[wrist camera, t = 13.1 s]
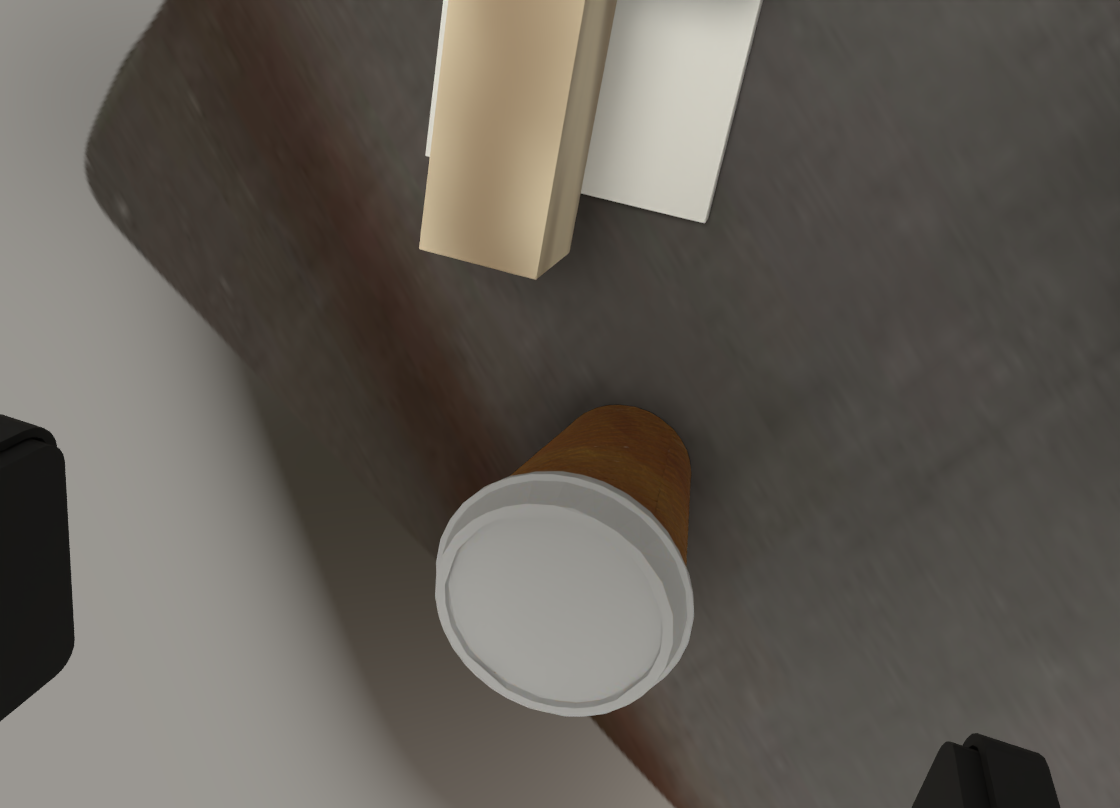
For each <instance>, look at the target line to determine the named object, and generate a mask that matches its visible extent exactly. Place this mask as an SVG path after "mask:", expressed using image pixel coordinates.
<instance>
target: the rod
mask: <svg viewBox="0 0 1120 808" xmlns="http://www.w3.org/2000/svg"><path fill="white" fill-rule="evenodd" d="M616 4H617V0H448V8H447V16H446V25H445V33H444V41H443V50H442V58H441V67H440V75H439V84H438V92H437V101H436V109H435V118H434V126H433V135H432V143H431V152H430V160H429V169H428V177H427V186H426V194H425V202H424V211H423V219H422V228H421V236H420V245H419V249H421V250H425V251H429V252H432V253H436V254H440V255H444V256H448V257H451V258H455V259H459V260H463V261H467V262H470V263H474V264H478V265H482V266H486V267H490V268H493V269H497V270H501V271H505V272H509V273H512V274H516V275H520V276H524V277H528V278H531V279H535V280H536V279H537V278H539V277H540V276H541V275H542V274H544V273H545V272H546V271H547V270H549V269H550V268H551V267H552V266H553V265H555V264H556V263H557V262H558V261H560V260H561V259H562V258H563V257H565V256H566V255H567V254H568V253H569V252H570V247H571V241H572V236H573V231H574V226H575V220H576V215H577V210H578V204H579V199H580V194H581V189H582V183H583V178H584V173H585V167H586V162H587V157H588V152H589V146H590V141H591V136H592V130H593V125H594V120H595V115H596V109H597V104H598V99H599V94H600V88H601V83H602V78H603V72H604V67H605V62H606V57H607V51H608V46H609V41H610V35H611V30H612V25H613V20H614V14H615V9H616Z"/></svg>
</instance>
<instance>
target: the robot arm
mask: <svg viewBox="0 0 1120 808" xmlns="http://www.w3.org/2000/svg"><path fill="white" fill-rule="evenodd" d="M72 603H73V602H72V585H71V566H70V548H69V530H68V512H67V493H66V477H65V460H64V456H63V453H62V452H61V450H60V449H59V448H57V445H56V440H55V438H54V437H53V435H52V434H51V433H50V432H49V431H48V430H46V429H44V428H42V427H38V426H36V425H33V424H29V423H26V422H23V421H20V420H17V419H14V418H11V417H8V416H5V415H0V721H1V720H2V719H4V718H5V717H6V716H7V715H9V714H10V713H11V712H12V711H13V710H15V709H16V708H17V707H18V706H20V705H21V704H22V703H23V702H24V701H26V700H27V699H28V698H29V697H31V696H32V695H33V694H34V693H35V692H37V691H38V690H39V689H40V688H41V687H43V686H44V685H45V684H46V683H47V682H49V681H50V680H51V679H52V678H54V677H55V676H56V675H57V674H58V673H59V672H60V671H61V670H62V669H63V668H64V666H65V665H66V663H67V662H68V660H69V658H70V656H71V654H72V650H73V648H74V621H73V604H72ZM912 808H1060V805H1059V801H1058V798H1057V794H1056V791H1055V788H1054V784H1053V781H1052V777H1051V774H1050V770H1049V767H1048V765H1047V762H1046V760H1045V758H1044V757H1043V756H1041V755H1040V754H1039V753H1036V752H1033V751H1030V750H1027V749H1024V748H1021V747H1018V746H1014V745H1011V744H1008V743H1005V742H1002V741H999V740H996V739H993V738H990V737H987V736H984V735H981V734H978V733H976V734H971V735H970V736H969V737H968V738H967V739H966V741H965V742H964V744H963V746H962V745H959V744H956V743H953V742H945V743H944V744H943V745H942V746H941V748H940V750H939V752H938V753H937V756H936V758H935V760H934V762H933V764H932V766H931V768H930V770H929V772H928V774H927V776H926V779H925V781H924V783H923V785H922V787H921V789H920V791H919V793H918V795H917V797H916V800H915V802H914V804H913V806H912Z"/></svg>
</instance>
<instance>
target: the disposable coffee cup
mask: <svg viewBox="0 0 1120 808" xmlns="http://www.w3.org/2000/svg"><path fill="white" fill-rule="evenodd" d="M690 481H691V467H690V460H689V456H688V453H687V450H686V448H685V446H684V444H683V443H682V441H681V439H680V437H679V436H678V435H677V433H676V432H675V431H674V429H672V428H671V427H670V426H669V425H668V424H666V423H665V422H664V421H663V420H662V419H660V418H659V417H657V416H656V415H654V414H652V413H650V412H648V411H645V410H643V409H640V408H637V407H632V406H624V405H607V406H603V407H599V408H595V409H593V410H591V411H588V412H586V413H584V414H583V415H581V416H580V417H579V418H577V419H576V420H575V421H574V422H573V423H572V424H571V425H569V426H568V427H567V428H566V429H565V430H564V431H562V432H561V433H560V434H559V435H558V436H557V437H555V438H554V439H553V440H552V441H551V442H549V443H548V444H547V445H546V446H545V447H543V448H542V449H541V450H540V451H539V452H538V453H536V454H535V455H534V456H533V457H532V458H531V459H530V460H528V461H527V462H526V463H525V464H524V465H522V466H521V467H520V468H519V469H518V470H517V471H515V472H514V473H513V474H512V475H511V476H509V477H507V478H504V479H502V480H500V481H497V482H495V483H492V484H490V485H487V486H485V487H484V488H482V489H481V490H480V491H479V492H477V493H476V494H475V495H473V496H472V497H471V498H469V499H468V500H467V501H465V502H464V503H463V504H462V505H461V507H460V508H459V509H458V510H457V512H456V513H455V514H454V515H453V517H452V518H451V519H450V521H449V523H448V525H447V527H446V529H445V531H444V533H443V535H442V537H441V539H440V545H439V550H438V555H437V561H436V572H437V574H436V591H435V598H436V604H437V609H438V615H439V618H440V621H441V624H442V627H443V629H444V632H445V634H446V636H447V637H448V639H449V641H450V644H451V646H452V647H453V649H454V650H455V652H456V653H457V654H458V656H459V657H460V658H461V660H462V661H463V662H464V664H465V665H466V666H467V667H468V668H469V669H470V670H471V671H472V672H473V673H474V674H475V675H476V676H477V677H478V678H479V679H481V680H482V681H483V682H484V683H486V684H487V685H488V686H489V687H490V688H492V689H493V690H495V691H497V692H498V693H500V694H501V695H503V696H504V697H506V698H508V699H510V700H512V701H514V702H516V703H519V704H521V705H523V706H525V707H528V708H531V709H535V710H539V711H543V712H548V713H552V714H557V715H562V716H592V715H599V714H606V713H608V712H611V711H614V710H616V709H619V708H621V707H624V706H627V705H629V704H630V703H632V702H633V701H635V700H637V699H638V698H640V697H641V696H643V695H644V694H645V693H646V692H647V691H648V690H649V689H650V688H652V687H653V686H654V685H656V684H657V683H658V682H660V681H661V680H662V679H663V678H665V677H666V676H667V675H668V674H669V672H670V671H671V670H672V669H673V668H674V666H675V665H676V664H677V663H678V662H679V660H680V658H681V656H682V654H683V652H684V650H685V648H686V646H687V645H688V643H689V638H690V633H691V628H692V623H693V618H694V598H693V590H692V585H691V580H690V576H689V572H688V570H687V568H686V562H687V559H686V555H687V539H688V523H689V520H688V517H689V501H690V497H689V496H690Z"/></svg>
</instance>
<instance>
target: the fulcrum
mask: <svg viewBox="0 0 1120 808" xmlns="http://www.w3.org/2000/svg"><path fill="white" fill-rule="evenodd" d="M762 2H763V0H617V4H616V9H615V14H614V20H613V25H612V30H611V35H610V41H609V46H608V51H607V57H606V62H605V67H604V72H603V78H602V83H601V88H600V94H599V99H598V104H597V109H596V115H595V120H594V125H593V130H592V136H591V141H590V146H589V152H588V157H587V162H586V167H585V173H584V178H583V183H582V189H581V194H586V195H590V196H594V197H598V198H602V199H606V200H610V201H614V202H619V203H623V204H627V205H631V206H635V207H639V208H643V209H647V210H652V211H656V212H660V213H664V214H668V215H672V216H676V217H680V218H685V219H689V220H693V221H697V222H701V223H705V222H706V221H707V220H708V217H709V213H710V209H711V205H712V201H713V197H714V193H715V189H716V185H717V181H718V177H719V173H720V169H721V165H722V161H723V157H724V153H725V149H726V145H727V141H728V137H729V133H730V129H731V125H732V121H733V117H734V113H735V109H736V105H737V101H738V97H739V93H740V89H741V85H742V81H743V77H744V73H745V69H746V65H747V61H748V57H749V54H750V50H751V46H752V42H753V38H754V34H755V30H756V26H757V22H758V18H759V14H760V10H761V6H762ZM447 8H448V0H443V8H442V17H441V26H440V34H439V43H438V52H437V60H436V69H435V77H434V86H433V95H432V103H431V112H430V121H429V129H428V138H427V146H426V155H425V156H429V157H430V152H431V143H432V135H433V126H434V118H435V109H436V101H437V92H438V84H439V75H440V67H441V58H442V50H443V41H444V33H445V25H446V16H447Z"/></svg>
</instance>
